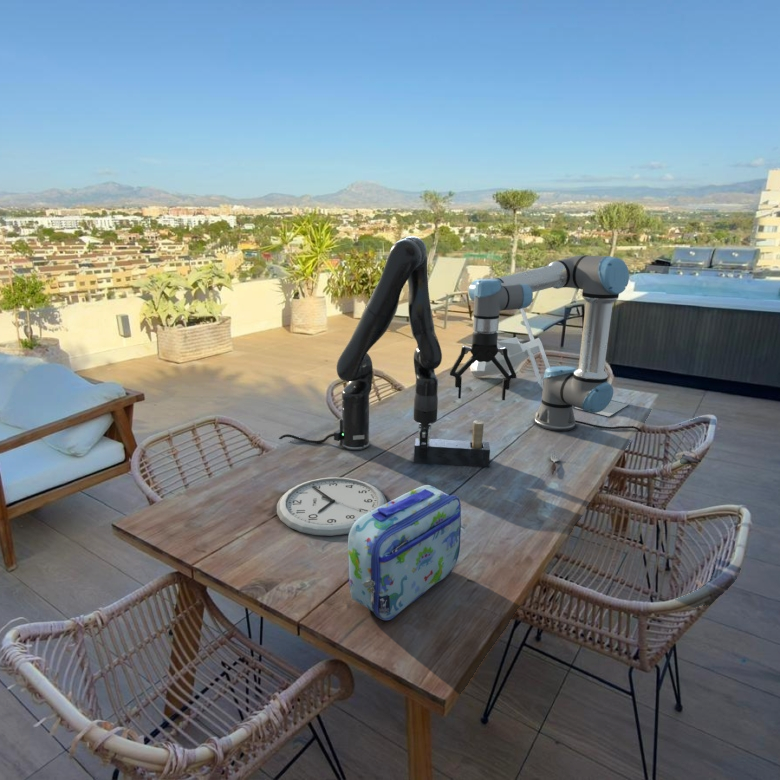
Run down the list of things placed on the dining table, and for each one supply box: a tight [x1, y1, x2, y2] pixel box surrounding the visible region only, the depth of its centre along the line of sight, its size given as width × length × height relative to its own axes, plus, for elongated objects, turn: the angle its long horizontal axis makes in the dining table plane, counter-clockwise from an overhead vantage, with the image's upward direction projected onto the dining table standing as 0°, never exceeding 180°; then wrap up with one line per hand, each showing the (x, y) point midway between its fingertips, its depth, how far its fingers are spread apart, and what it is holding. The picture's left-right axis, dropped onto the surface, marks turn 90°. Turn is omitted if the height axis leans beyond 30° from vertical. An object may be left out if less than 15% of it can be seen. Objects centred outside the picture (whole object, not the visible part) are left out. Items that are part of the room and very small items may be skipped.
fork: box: [550, 450, 560, 475], centre depth 169 cm, size 3×16×2 cm, turn 160°
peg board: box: [413, 437, 491, 468], centre depth 171 cm, size 24×6×6 cm, turn 84°
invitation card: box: [573, 400, 629, 418], centre depth 226 cm, size 21×1×15 cm
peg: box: [471, 419, 485, 448], centre depth 169 cm, size 3×3×14 cm
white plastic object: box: [469, 308, 551, 390], centre depth 259 cm, size 37×45×31 cm
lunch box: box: [347, 484, 462, 621], centre depth 107 cm, size 26×11×21 cm, turn 134°
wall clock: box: [276, 476, 388, 537], centre depth 142 cm, size 30×2×30 cm
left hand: (423, 454), depth 172 cm, fingers closed on peg board, 6 cm apart
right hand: (481, 398), depth 164 cm, fingers open, 13 cm apart
